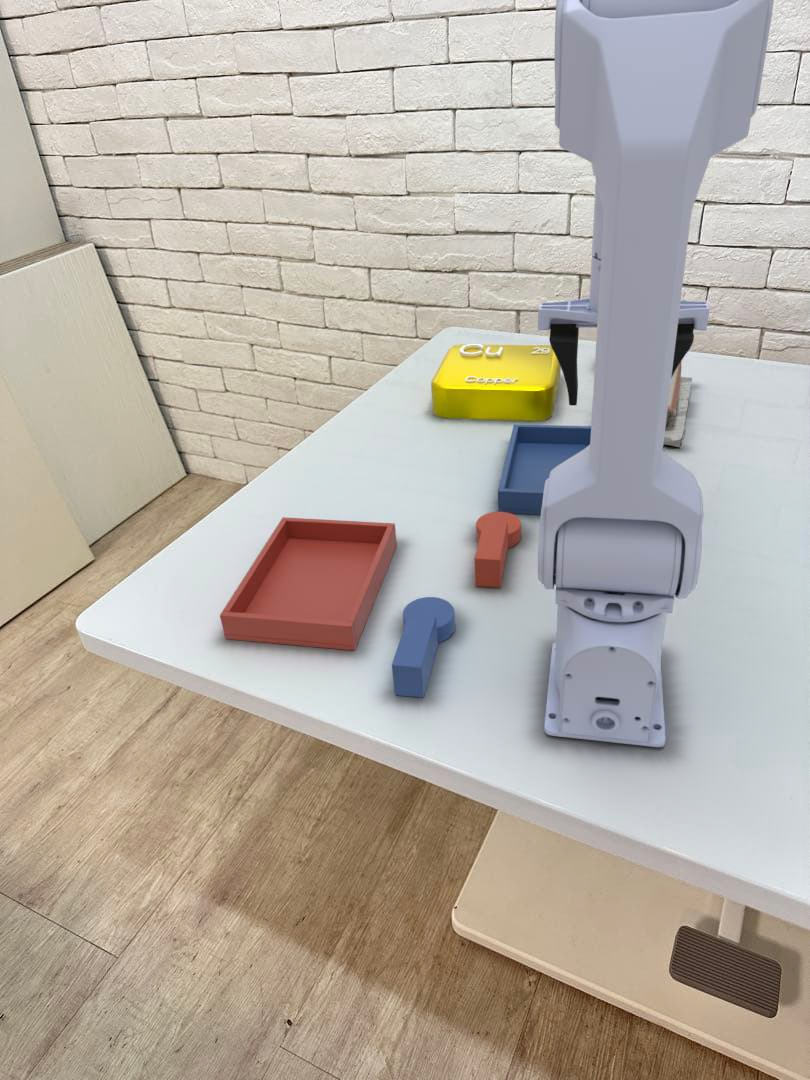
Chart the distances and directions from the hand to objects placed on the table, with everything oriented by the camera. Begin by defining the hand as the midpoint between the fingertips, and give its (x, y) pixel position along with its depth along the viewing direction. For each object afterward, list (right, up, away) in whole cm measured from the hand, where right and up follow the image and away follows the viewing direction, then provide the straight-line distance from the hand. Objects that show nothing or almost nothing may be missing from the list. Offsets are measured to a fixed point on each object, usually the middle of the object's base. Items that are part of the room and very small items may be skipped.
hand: (614, 402), depth 75 cm
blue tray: (-4, -6, +9) cm, 12 cm away
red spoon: (-12, -14, -2) cm, 19 cm away
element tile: (-8, +5, +28) cm, 30 cm away
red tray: (-28, -17, -4) cm, 33 cm away
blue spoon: (-18, -22, -12) cm, 31 cm away
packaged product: (+9, +2, +21) cm, 23 cm away
